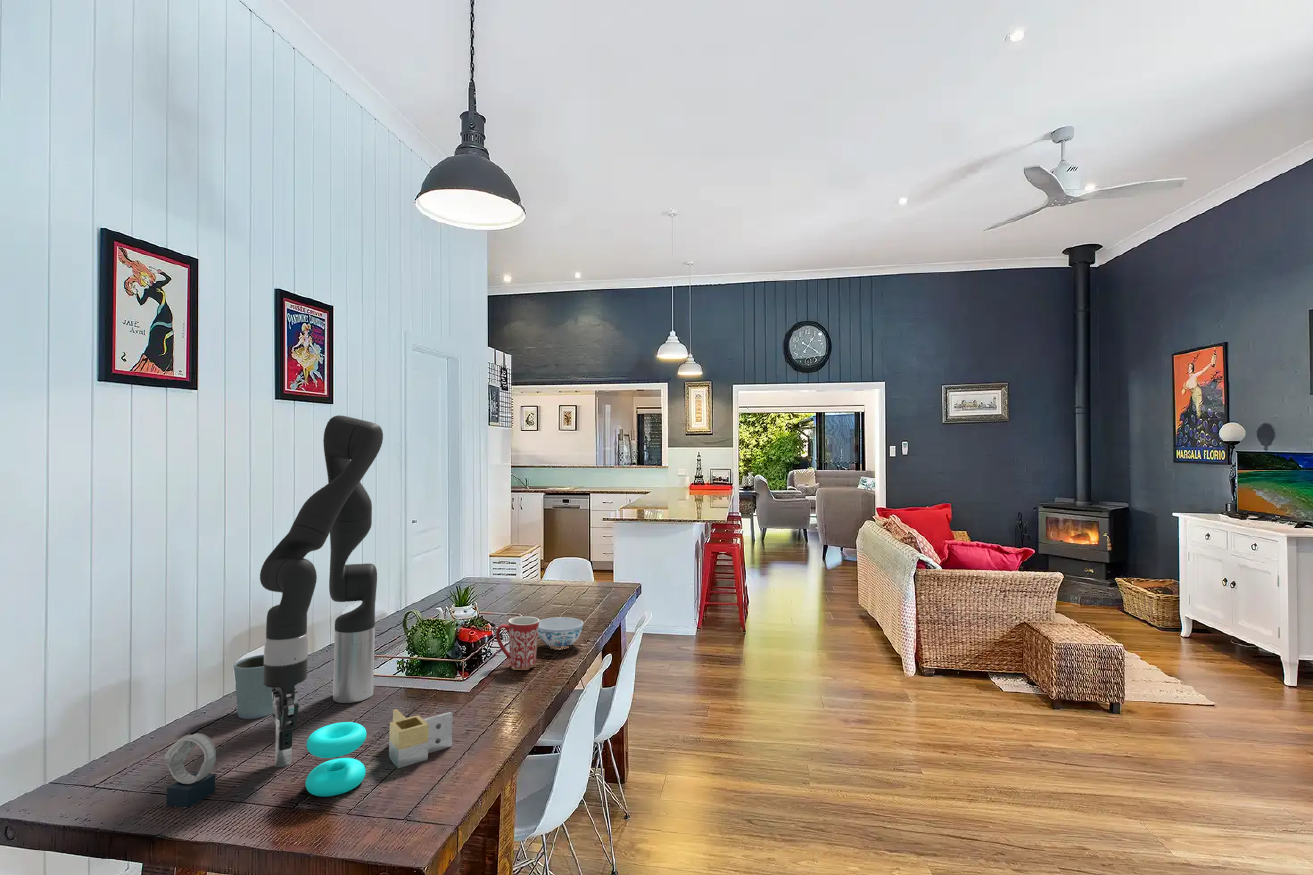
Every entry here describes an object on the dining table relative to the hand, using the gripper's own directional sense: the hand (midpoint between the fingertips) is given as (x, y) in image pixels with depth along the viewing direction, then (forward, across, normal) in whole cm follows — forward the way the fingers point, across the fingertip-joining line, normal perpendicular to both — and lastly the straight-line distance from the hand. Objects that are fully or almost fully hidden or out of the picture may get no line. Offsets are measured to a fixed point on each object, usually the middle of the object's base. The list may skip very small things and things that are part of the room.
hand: (283, 745), depth 124 cm
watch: (+4, -4, +15) cm, 16 cm away
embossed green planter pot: (+4, +32, 0) cm, 32 cm away
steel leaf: (+4, -13, -23) cm, 27 cm away
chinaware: (+4, +31, -82) cm, 88 cm away
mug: (+4, +23, -63) cm, 67 cm away
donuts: (+4, -15, -6) cm, 17 cm away
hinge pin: (+4, 0, 0) cm, 4 cm away
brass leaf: (+4, -10, -20) cm, 23 cm away
